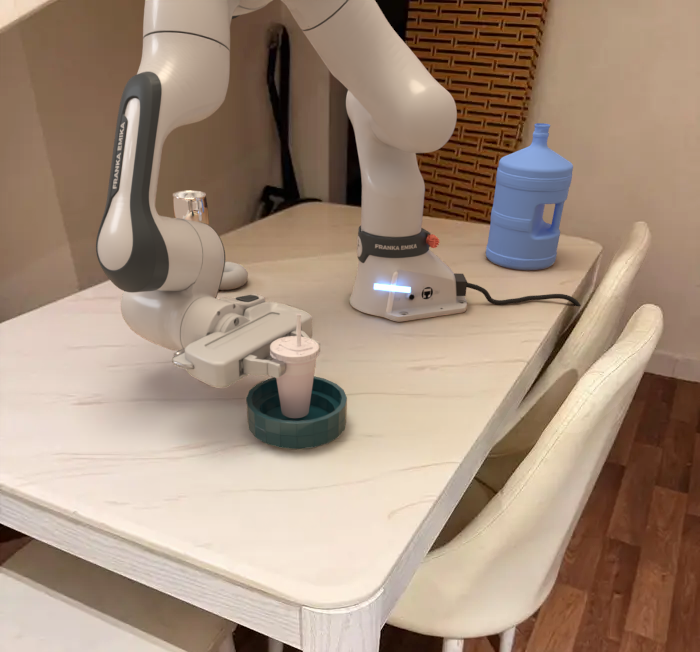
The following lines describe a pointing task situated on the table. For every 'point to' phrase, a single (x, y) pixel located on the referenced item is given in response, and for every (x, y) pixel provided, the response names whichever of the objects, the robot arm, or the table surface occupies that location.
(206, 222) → the beer glass
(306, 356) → the smoothie
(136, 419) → the table surface
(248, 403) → the bowl
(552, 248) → the water jug
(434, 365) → the table surface
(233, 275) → the donut
